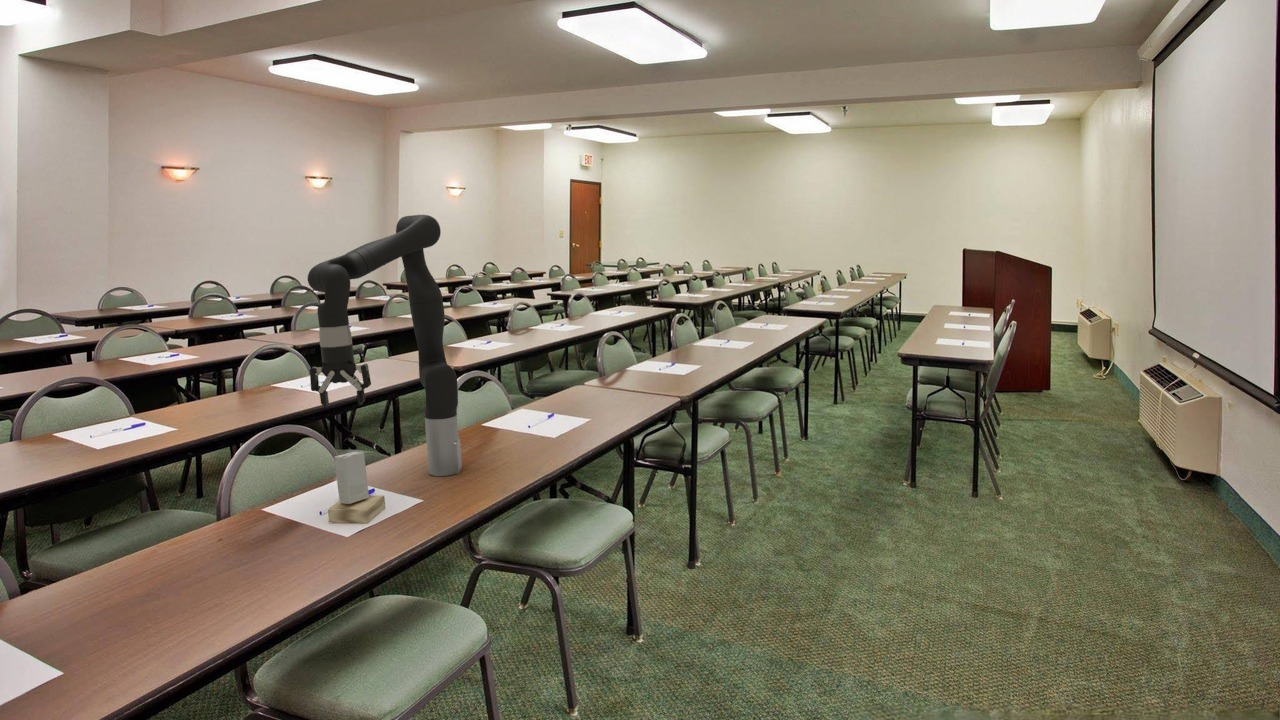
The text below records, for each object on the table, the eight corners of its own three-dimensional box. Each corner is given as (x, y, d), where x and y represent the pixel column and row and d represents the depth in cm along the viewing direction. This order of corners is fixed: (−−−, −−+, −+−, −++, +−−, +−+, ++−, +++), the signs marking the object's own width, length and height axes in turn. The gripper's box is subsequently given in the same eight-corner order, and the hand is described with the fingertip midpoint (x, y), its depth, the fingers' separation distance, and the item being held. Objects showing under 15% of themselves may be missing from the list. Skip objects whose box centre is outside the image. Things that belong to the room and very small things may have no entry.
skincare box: (359, 496, 189) (354, 450, 188) (370, 498, 186) (365, 451, 185) (338, 503, 184) (332, 455, 183) (349, 504, 181) (343, 456, 180)
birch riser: (385, 510, 190) (384, 494, 190) (367, 525, 181) (366, 509, 180) (348, 509, 191) (347, 494, 191) (329, 524, 182) (327, 508, 181)
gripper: (368, 339, 190) (375, 400, 193) (311, 342, 189) (319, 403, 192) (361, 344, 183) (368, 407, 186) (302, 347, 181) (310, 410, 184)
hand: (343, 405), depth 189 cm, fingers open, 8 cm apart
